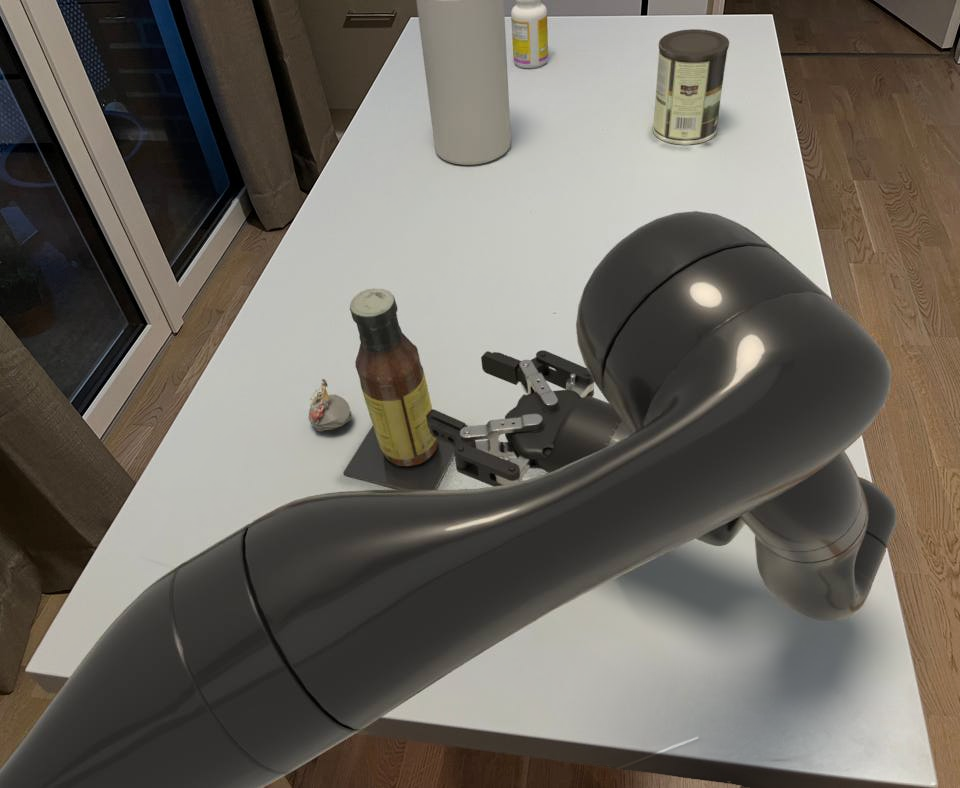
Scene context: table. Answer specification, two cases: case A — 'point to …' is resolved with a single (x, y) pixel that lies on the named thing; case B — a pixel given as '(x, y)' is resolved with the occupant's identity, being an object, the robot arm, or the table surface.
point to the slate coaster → (381, 471)
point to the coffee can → (689, 85)
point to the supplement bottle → (529, 33)
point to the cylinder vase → (466, 78)
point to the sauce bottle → (392, 380)
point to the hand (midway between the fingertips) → (457, 389)
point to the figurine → (328, 410)
